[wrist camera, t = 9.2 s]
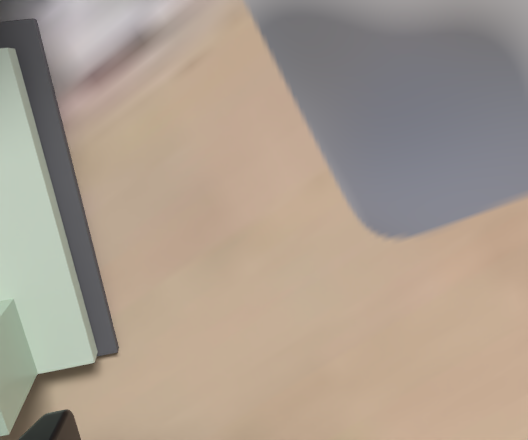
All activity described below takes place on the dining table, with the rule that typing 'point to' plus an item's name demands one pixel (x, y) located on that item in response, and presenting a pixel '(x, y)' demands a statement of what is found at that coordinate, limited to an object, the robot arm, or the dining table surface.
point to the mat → (61, 174)
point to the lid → (32, 259)
